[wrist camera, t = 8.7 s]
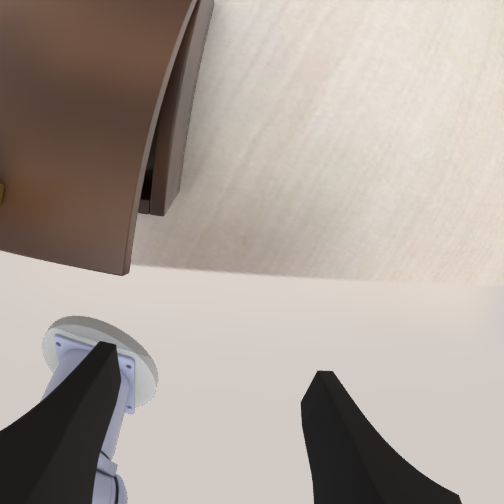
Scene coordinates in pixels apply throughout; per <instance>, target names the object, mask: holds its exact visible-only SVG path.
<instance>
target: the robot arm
mask: <svg viewBox="0 0 504 504" xmlns="http://www.w3.org/2000/svg"><path fill="white" fill-rule="evenodd" d="M53 339H54V344H55V349H56V353H57V358H58V362H59V364H58V366H57V368H56V370H55V372H54V374H53V376H52V378H51V380H50V382H49V384H48V386H47V388H46V390H45V393H44V395H43V397H42V399H41V401H40V403H39V404H37V405H36V406H35V407H34V408H32V409H31V410H30V411H29V412H27V413H26V414H25V415H23V416H22V417H21V418H19V419H18V420H17V421H15V422H14V423H12V424H11V425H9V426H8V427H6V428H4V429H3V430H1V431H0V504H127V491H126V488H125V486H124V482H123V480H122V478H121V477H120V476H119V475H117V474H116V470H117V464H115V463H113V462H112V461H111V459H112V458H113V456H114V453H115V449H116V445H117V441H118V436H119V432H120V428H121V425H122V421H123V416H124V413H128V414H134V411H135V360H134V359H133V358H132V357H130V356H126V355H122V354H119V353H117V347H116V345H115V344H111V343H106V342H102V341H100V342H98V343H97V344H96V346H92V345H89V344H86V343H83V342H80V341H77V340H74V339H71V338H68V337H65V336H62V335H59V334H55V336H54V337H53ZM301 417H302V428H303V433H304V438H305V444H306V448H307V453H308V458H309V464H310V469H311V474H312V480H313V493H314V504H462V503H461V500H460V498H459V495H457V494H455V493H453V492H452V491H450V490H448V489H446V488H444V487H442V486H440V485H439V484H437V483H435V482H434V481H432V480H431V479H429V478H428V477H426V476H425V475H423V474H422V473H421V472H419V471H418V470H416V468H414V467H413V466H412V465H411V464H409V463H408V462H407V461H406V460H405V459H403V458H402V457H401V456H400V455H399V454H398V453H397V452H396V451H395V450H394V449H393V448H392V447H391V446H390V445H389V444H388V443H387V442H386V441H385V440H384V439H383V438H382V437H381V435H380V434H379V433H378V432H377V431H376V430H375V428H374V427H373V426H372V425H371V424H370V422H369V421H368V420H367V418H365V416H364V415H363V413H362V412H361V411H360V409H359V408H358V407H357V405H356V404H355V402H354V401H353V400H352V398H351V397H350V395H349V394H348V393H347V391H346V390H345V388H344V387H343V385H342V384H341V383H340V381H339V380H338V378H337V377H336V375H335V374H334V372H333V371H317V373H316V375H315V377H314V379H313V380H312V382H311V384H310V386H309V388H308V390H307V392H306V394H305V395H304V397H303V399H302V401H301Z"/></svg>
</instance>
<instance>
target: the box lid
mask: <svg viewBox="0 0 504 504" xmlns="http://www.w3.org/2000/svg"><path fill="white" fill-rule="evenodd" d="M196 2H197V0H0V250H1V251H5V252H9V253H13V254H18V255H22V256H27V257H31V258H35V259H40V260H44V261H49V262H54V263H58V264H63V265H68V266H73V267H78V268H83V269H88V270H93V271H98V272H103V273H108V274H114V275H119V276H123V275H125V274H128V273H129V270H130V262H131V254H132V246H133V239H134V232H135V226H136V220H137V213H138V208H139V202H140V196H141V191H142V186H143V181H144V176H145V171H146V166H147V161H148V157H149V152H150V148H151V144H152V139H153V135H154V131H155V127H156V123H157V119H158V116H159V112H160V108H161V105H162V101H163V97H164V94H165V90H166V87H167V84H168V80H169V77H170V74H171V71H172V68H173V65H174V61H175V58H176V55H177V52H178V50H179V47H180V44H181V41H182V38H183V35H184V33H185V30H186V27H187V25H188V22H189V19H190V17H191V14H192V12H193V9H194V7H195V4H196Z"/></svg>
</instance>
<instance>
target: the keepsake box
mask: <svg viewBox="0 0 504 504" xmlns="http://www.w3.org/2000/svg"><path fill="white" fill-rule="evenodd" d="M213 7H214V1H213V0H197V2H196V4H195V7H194V9H193V12H192V14H191V17H190V19H189V22H188V25H187V27H186V30H185V33H184V35H183V38H182V41H181V44H180V47H179V50H178V52H177V55H176V58H175V61H174V65H173V68H172V71H171V74H170V77H169V80H168V84H167V87H166V90H165V94H164V97H163V101H162V105H161V108H160V112H159V116H158V119H157V123H156V127H155V131H154V135H153V139H152V144H151V148H150V152H149V157H148V161H147V166H146V171H145V176H144V181H143V186H142V191H141V196H140V202H139V208H138V213H142V214H149V213H150V214H151V215H157V216H164V215H165V213H166V212H167V210H168V208H169V207H170V205H171V204H172V202H173V200H174V199H175V197H176V196H177V194H178V192H179V189H180V181H181V174H182V166H183V159H184V152H185V145H186V139H187V133H188V126H189V120H190V115H191V109H192V103H193V98H194V92H195V87H196V82H197V77H198V72H199V67H200V62H201V58H202V53H203V49H204V44H205V40H206V35H207V31H208V27H209V23H210V19H211V15H212V11H213Z"/></svg>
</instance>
